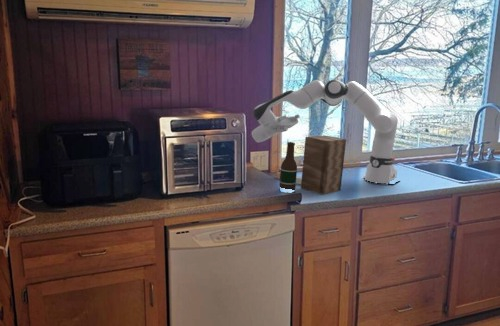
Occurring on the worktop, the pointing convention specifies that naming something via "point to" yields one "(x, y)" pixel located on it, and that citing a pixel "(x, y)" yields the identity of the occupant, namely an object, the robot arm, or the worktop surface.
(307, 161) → the shelf
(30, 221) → the worktop surface
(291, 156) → the beer bottle
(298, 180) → the bar
